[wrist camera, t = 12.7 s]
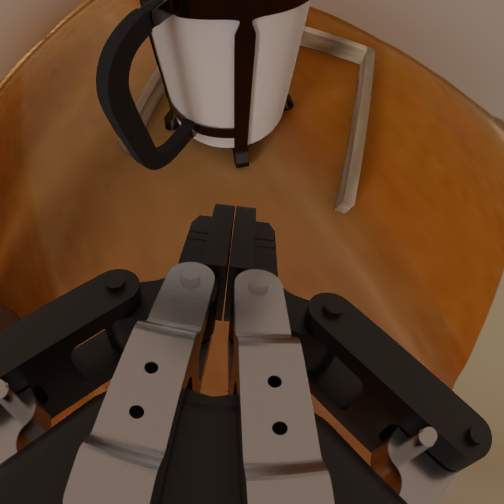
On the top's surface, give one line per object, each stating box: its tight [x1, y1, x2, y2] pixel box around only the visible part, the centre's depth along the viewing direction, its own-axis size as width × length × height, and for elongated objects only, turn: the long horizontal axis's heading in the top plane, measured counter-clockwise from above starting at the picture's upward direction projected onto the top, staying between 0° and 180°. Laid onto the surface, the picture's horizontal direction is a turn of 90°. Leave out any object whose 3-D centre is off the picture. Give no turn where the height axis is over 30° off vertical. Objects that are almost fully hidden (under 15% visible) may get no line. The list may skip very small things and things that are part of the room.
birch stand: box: [116, 26, 375, 213], centre depth 33 cm, size 25×24×3 cm
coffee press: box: [96, 0, 311, 170], centre depth 19 cm, size 17×16×30 cm
